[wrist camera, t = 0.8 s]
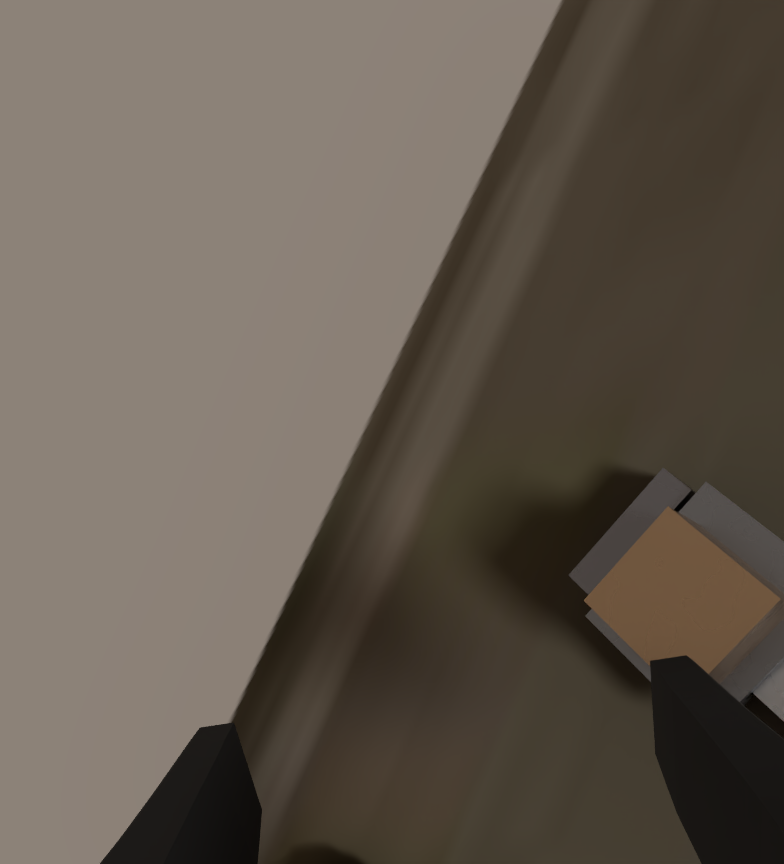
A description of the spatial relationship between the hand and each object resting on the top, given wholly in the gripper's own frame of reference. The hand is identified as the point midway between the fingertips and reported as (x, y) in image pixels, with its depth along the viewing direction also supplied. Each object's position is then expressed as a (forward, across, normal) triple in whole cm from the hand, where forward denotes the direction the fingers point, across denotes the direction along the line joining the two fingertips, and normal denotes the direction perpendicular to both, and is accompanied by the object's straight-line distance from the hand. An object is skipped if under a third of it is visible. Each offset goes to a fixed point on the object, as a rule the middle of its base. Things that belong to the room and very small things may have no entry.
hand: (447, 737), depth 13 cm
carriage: (+12, -10, +7) cm, 17 cm away
